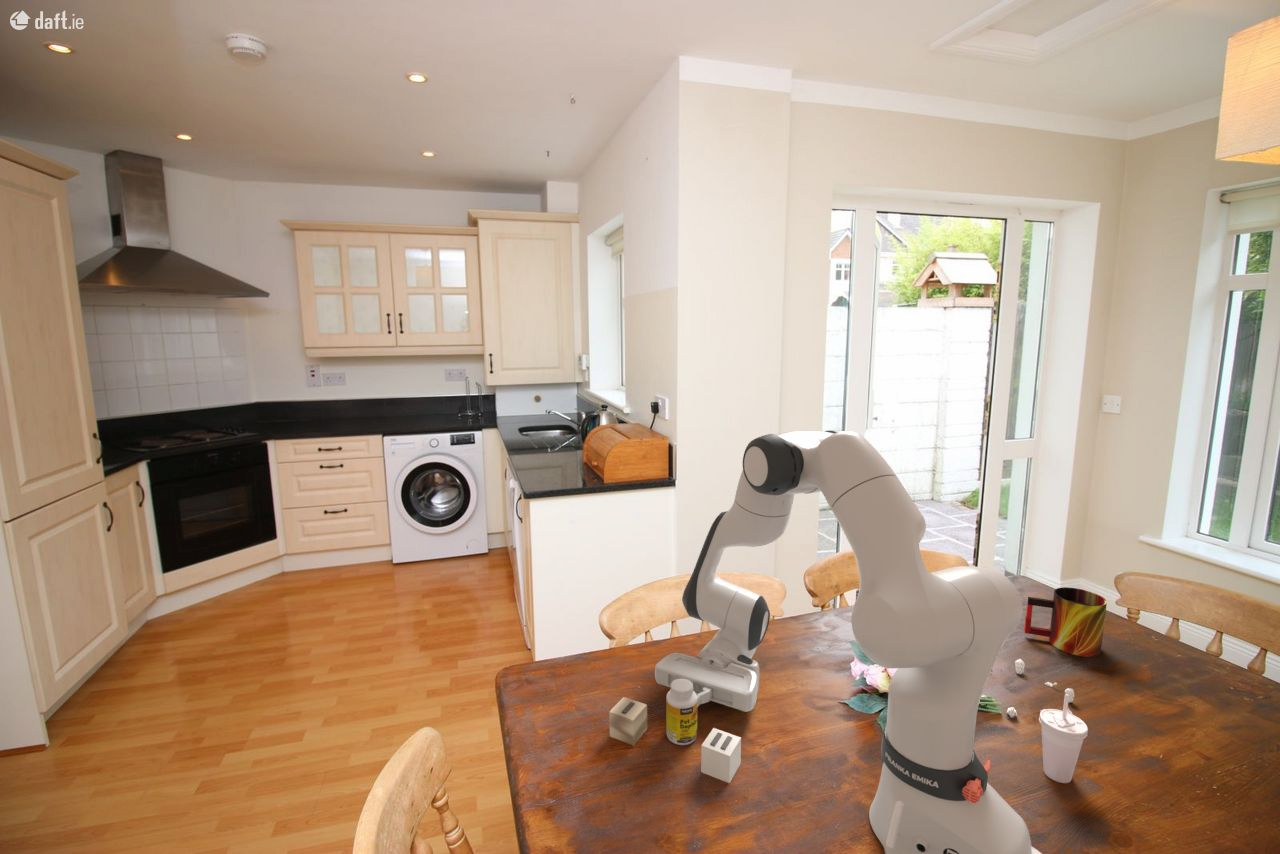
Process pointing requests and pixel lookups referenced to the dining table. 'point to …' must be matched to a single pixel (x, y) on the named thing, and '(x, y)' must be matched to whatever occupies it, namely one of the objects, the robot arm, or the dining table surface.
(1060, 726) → the smoothie
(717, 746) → the marked off-white block
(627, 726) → the marked birch block
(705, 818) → the dining table surface
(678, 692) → the supplement bottle
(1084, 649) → the mug
